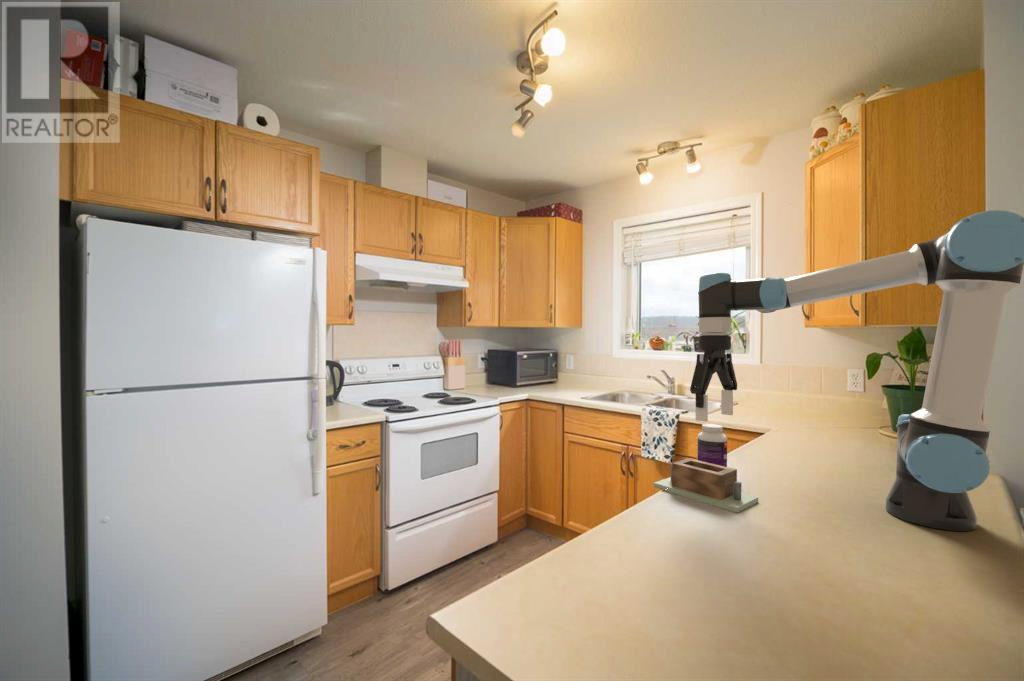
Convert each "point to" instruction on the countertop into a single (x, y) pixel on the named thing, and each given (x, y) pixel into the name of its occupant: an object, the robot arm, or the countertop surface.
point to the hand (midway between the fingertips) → (714, 417)
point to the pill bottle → (712, 445)
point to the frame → (704, 478)
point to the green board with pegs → (730, 503)
